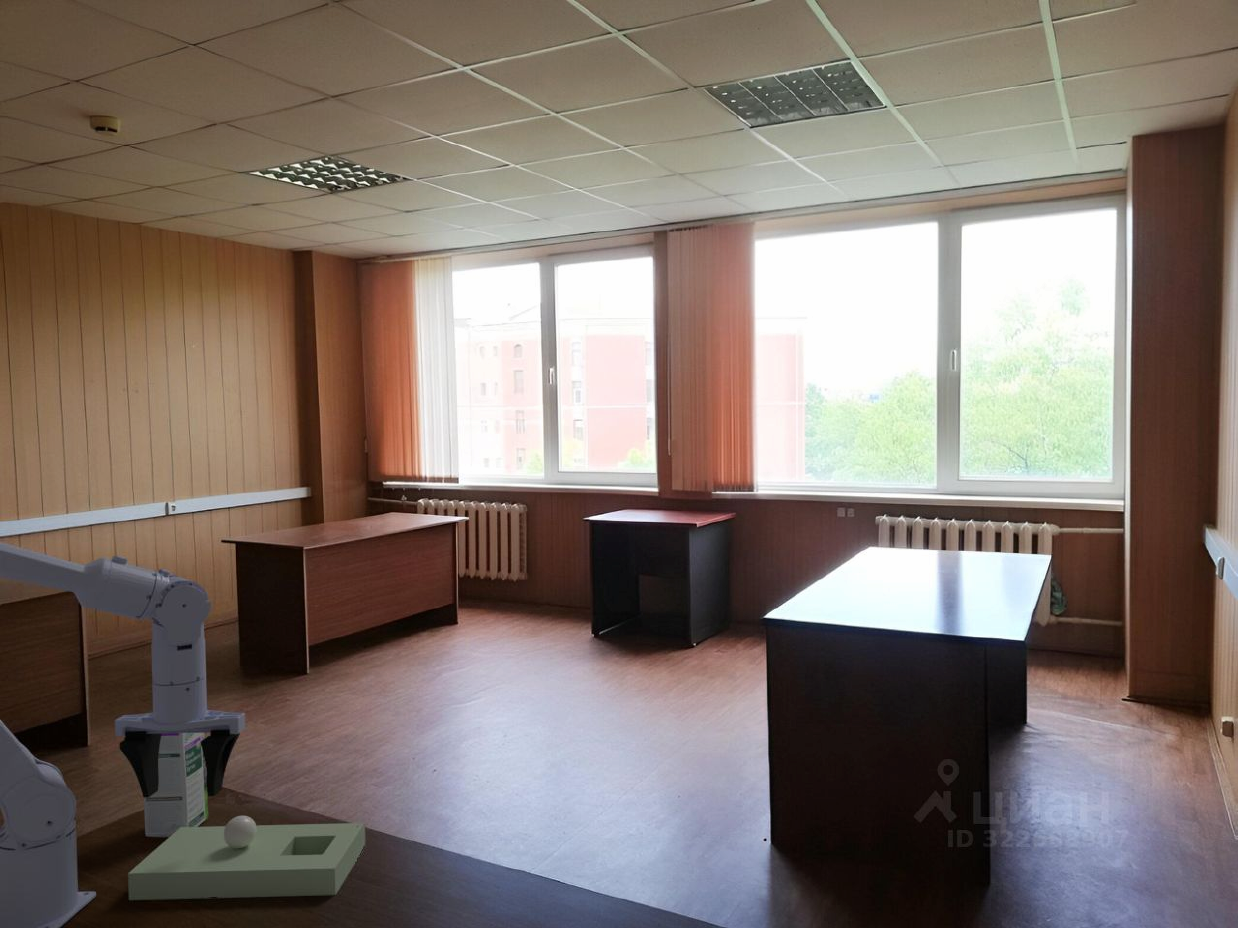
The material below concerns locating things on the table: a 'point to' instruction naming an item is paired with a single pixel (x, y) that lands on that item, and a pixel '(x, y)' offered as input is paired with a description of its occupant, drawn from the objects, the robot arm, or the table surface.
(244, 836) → the ball
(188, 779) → the syrup box
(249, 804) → the table surface
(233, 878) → the green board
